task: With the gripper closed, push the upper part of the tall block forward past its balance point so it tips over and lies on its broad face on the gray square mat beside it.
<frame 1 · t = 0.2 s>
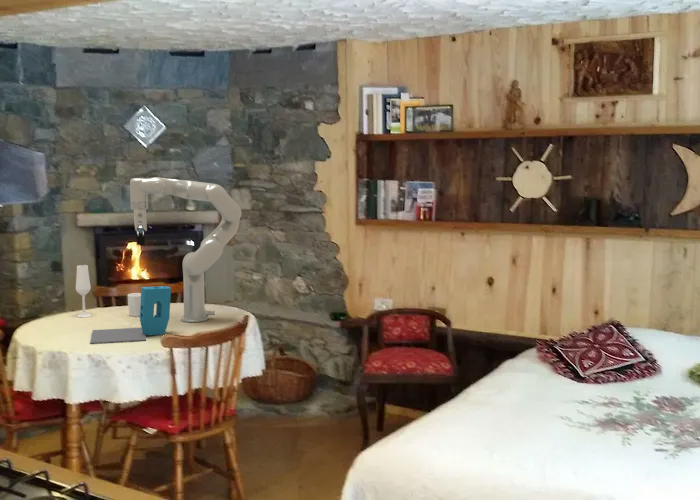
hand: (140, 243, 344), 37 cm above the table, tool pointing down, fingers open, 9 cm apart
white cup: (136, 315, 364), on the table
gray square mat: (118, 336, 324), on the table
champagne flute: (84, 316, 361), on the table
block: (153, 333, 328), on the table, touching gray square mat
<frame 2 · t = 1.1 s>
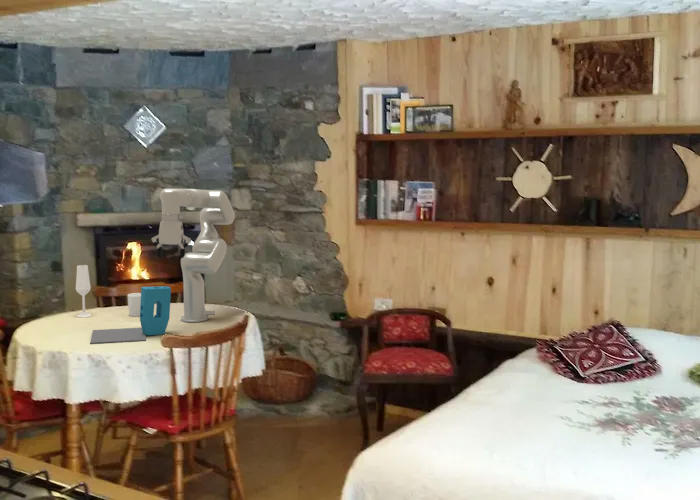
hand: (171, 257, 332), 32 cm above the table, tool pointing down, fingers open, 9 cm apart
nothing on the table moved.
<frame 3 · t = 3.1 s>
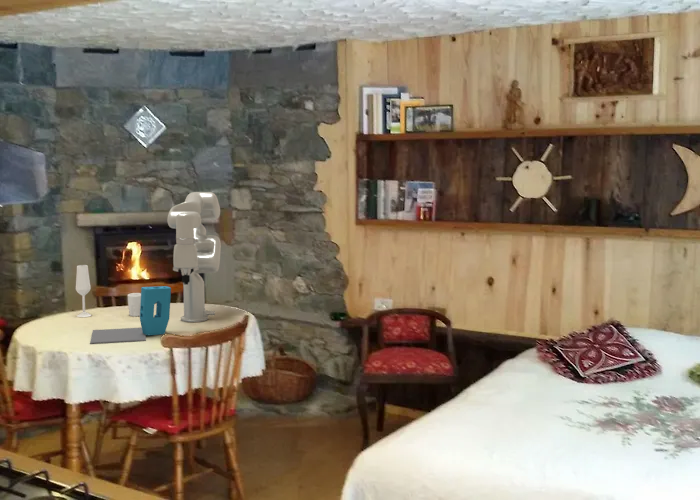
hand: (186, 284, 328), 21 cm above the table, tool pointing down, fingers closed
nothing on the table moved.
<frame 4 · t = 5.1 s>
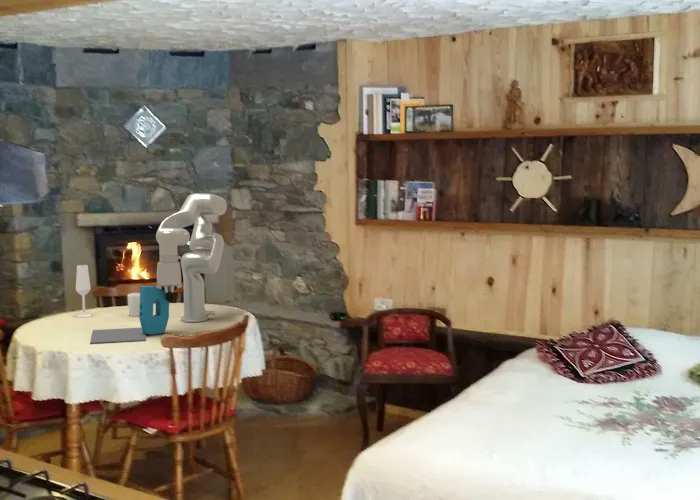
hand: (169, 301, 328), 14 cm above the table, tool pointing down, fingers closed
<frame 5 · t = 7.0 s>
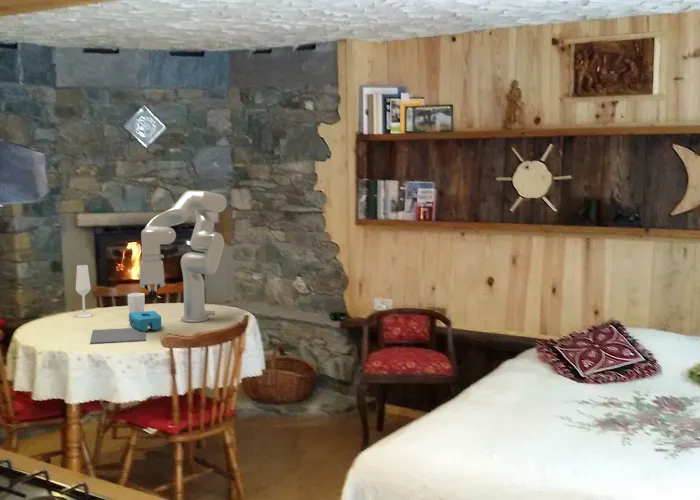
hand: (152, 300, 326), 15 cm above the table, tool pointing down, fingers closed
block: (150, 324, 330), point 3 cm above the table, touching gray square mat
everything else where it was.
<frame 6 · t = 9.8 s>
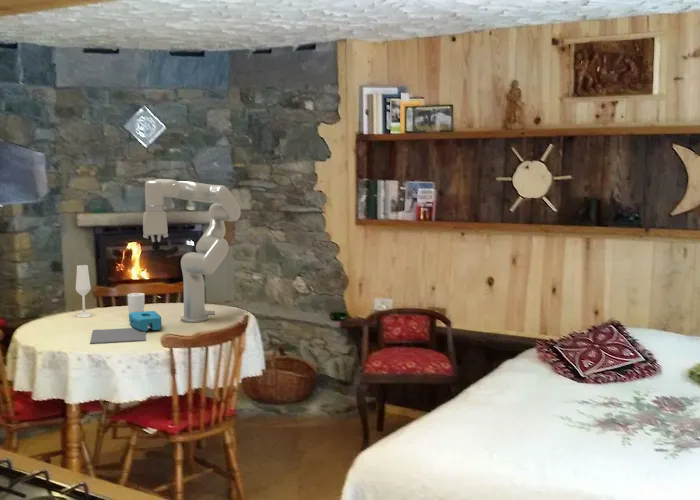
hand: (156, 250, 333), 35 cm above the table, tool pointing down, fingers closed
nothing on the table moved.
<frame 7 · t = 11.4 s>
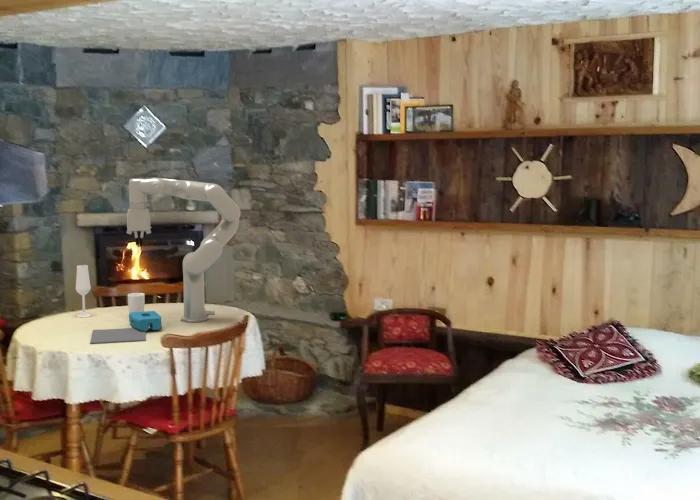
hand: (139, 246, 344), 35 cm above the table, tool pointing down, fingers closed
nothing on the table moved.
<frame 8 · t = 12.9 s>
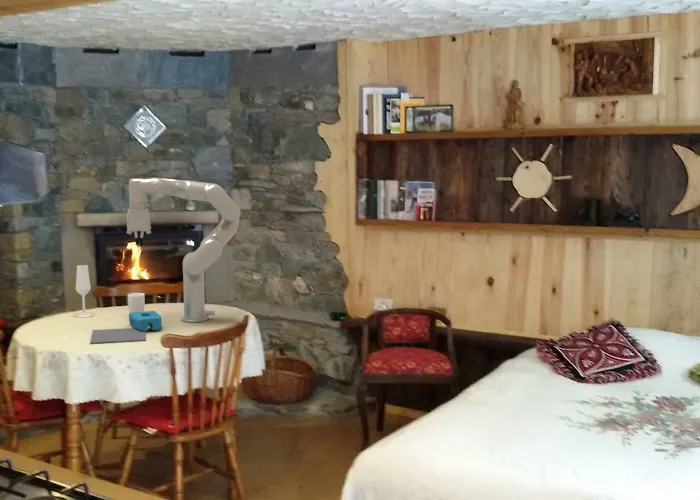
hand: (139, 246, 344), 35 cm above the table, tool pointing down, fingers closed
nothing on the table moved.
at the end: block tilted 93°; block touching gray square mat, table; block inside the target area (8.4 cm from its centre), point 3.5 cm above the table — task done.
